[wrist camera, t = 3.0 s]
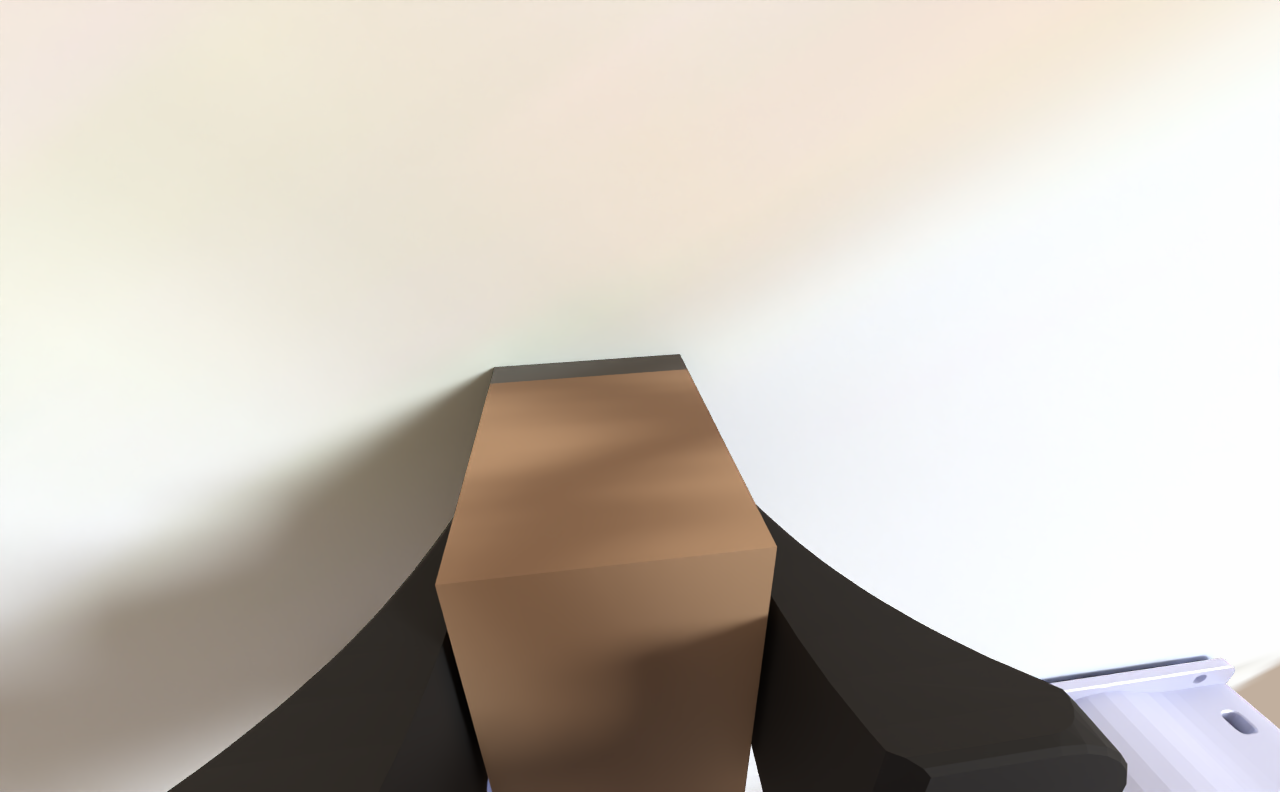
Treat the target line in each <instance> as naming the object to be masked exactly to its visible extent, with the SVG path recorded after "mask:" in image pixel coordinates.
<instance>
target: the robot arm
mask: <svg viewBox="0 0 1280 792" xmlns="http://www.w3.org/2000/svg"><path fill="white" fill-rule="evenodd" d="M756 506H757V505H756ZM757 508H758V510H759V512H760V514H761V516H762V518H763V520H764V522H765V524H766V526H767V528H768V530H769V532H770V534H771V536H772V538H773V540H774V542H775V544H776V546H777V551H776V559H775V566H774V574H773V581H772V589H771V597H770V604H769V612H768V619H767V627H766V634H765V642H764V650H763V657H762V665H761V672H760V680H759V687H758V695H757V703H756V710H755V718H754V725H753V733H752V741H751V745H752V749H753V753H754V757H755V761H756V765H757V769H758V773H759V777H760V782H761V786H762V790H763V792H1280V729H1279V728H1277V727H1276V726H1275V725H1274V724H1273V723H1272V722H1271V721H1269V720H1268V719H1267V718H1266V717H1265V716H1264V715H1262V714H1261V713H1260V712H1259V711H1258V710H1256V709H1255V708H1254V707H1253V706H1252V705H1250V704H1249V703H1248V702H1247V701H1246V700H1245V699H1243V698H1242V697H1241V696H1240V695H1239V694H1238V693H1236V692H1235V691H1234V690H1233V689H1232V688H1230V687H1229V686H1228V685H1227V684H1226V683H1227V682H1228V680H1229V679H1230V678H1231V677H1232V675H1233V674H1234V672H1235V668H1234V666H1232V665H1231V664H1230V663H1229V662H1227V661H1226V660H1225V659H1222V658H1217V659H1210V660H1203V661H1196V662H1190V663H1183V664H1176V665H1169V666H1163V667H1156V668H1149V669H1142V670H1136V671H1129V672H1122V673H1115V674H1109V675H1102V676H1095V677H1088V678H1082V679H1075V680H1068V681H1061V682H1055V683H1047V682H1045V681H1043V680H1040V679H1038V678H1036V677H1033V676H1031V675H1029V674H1026V673H1024V672H1021V671H1019V670H1017V669H1014V668H1012V667H1010V666H1007V665H1005V664H1003V663H1000V662H998V661H996V660H993V659H991V658H989V657H987V656H985V655H982V654H980V653H978V652H976V651H974V650H972V649H970V648H968V647H966V646H964V645H962V644H960V643H958V642H956V641H954V640H952V639H950V638H948V637H946V636H944V635H942V634H940V633H938V632H936V631H934V630H932V629H930V628H929V627H927V626H925V625H923V624H921V623H919V622H917V621H915V620H914V619H912V618H910V617H909V616H907V615H905V614H903V613H902V612H900V611H898V610H896V609H895V608H893V607H891V606H890V605H888V604H886V603H884V602H883V601H881V600H879V599H878V598H876V597H875V596H873V595H871V594H870V593H868V592H867V591H865V590H863V589H862V588H860V587H859V586H857V585H856V584H855V583H853V582H852V581H850V580H849V579H847V578H846V577H844V576H843V575H841V574H840V573H838V572H837V571H835V570H834V569H833V568H831V567H830V566H828V565H827V564H826V563H824V562H823V561H822V560H820V559H819V558H818V557H816V556H815V555H814V554H813V553H811V552H810V551H809V550H807V549H806V548H805V547H804V546H802V545H801V544H800V543H799V542H797V541H796V540H795V539H794V538H793V537H792V536H790V535H789V534H788V533H787V532H786V531H785V530H783V529H782V528H781V527H780V526H779V525H778V524H777V523H776V522H774V521H773V520H772V519H771V518H770V517H769V516H768V515H767V514H766V513H765V512H763V511H762V510H761V509H760V508H759V507H758V506H757ZM452 521H453V519H452V520H451V522H450V523H449V524H448V526H447V527H446V529H445V530H444V531H443V533H442V534H441V536H440V537H439V538H438V540H437V541H436V542H435V544H434V545H433V546H432V548H431V549H430V550H429V552H428V553H427V554H426V556H425V557H424V558H423V559H422V561H421V562H420V563H419V565H418V566H417V567H416V569H415V570H414V571H413V572H412V574H411V575H410V576H409V577H408V578H407V579H406V581H405V582H404V583H403V584H402V585H401V587H400V588H399V589H398V590H397V591H396V592H395V594H394V595H393V596H392V597H391V598H390V600H389V601H388V602H387V603H386V604H385V605H384V607H383V608H382V609H381V610H380V611H379V612H378V613H377V614H376V615H375V616H374V617H373V619H372V620H371V621H370V622H369V623H368V624H367V625H366V626H365V627H364V628H363V629H362V630H361V631H360V632H359V633H358V634H357V635H356V636H355V637H354V638H353V639H352V640H351V641H350V642H349V643H348V644H347V645H346V646H345V647H344V648H343V649H342V650H341V651H340V652H339V653H338V654H337V655H336V656H335V657H334V658H333V659H332V660H331V661H330V662H329V663H328V664H327V665H325V666H324V667H323V668H322V669H321V670H320V671H319V672H318V673H316V674H315V675H314V676H313V677H312V678H311V679H310V680H309V681H307V682H306V683H305V684H304V685H303V686H302V687H301V688H300V689H299V690H297V691H296V692H295V693H294V694H293V695H292V696H291V697H290V698H288V699H287V700H286V701H285V702H284V703H283V704H281V705H280V706H279V707H278V708H277V709H275V710H274V711H273V712H272V713H270V714H269V715H268V716H267V717H266V718H264V719H263V720H262V721H261V722H259V723H258V724H257V725H256V726H254V727H253V728H252V729H251V730H249V731H248V732H247V733H246V734H244V735H243V736H242V737H240V738H239V739H238V740H237V741H235V742H234V743H233V744H231V745H230V746H229V747H228V748H226V749H225V750H224V751H222V752H221V753H220V754H219V755H217V756H216V757H215V758H213V759H212V760H211V761H209V762H208V763H206V764H205V765H204V766H202V767H201V768H200V769H198V770H197V771H196V772H194V773H193V774H191V775H190V776H189V777H187V778H186V779H184V780H183V781H182V782H180V783H179V784H177V785H176V786H175V787H173V788H172V789H170V790H169V791H167V792H487V784H488V776H487V772H486V768H485V765H484V761H483V757H482V754H481V750H480V747H479V743H478V739H477V736H476V732H475V728H474V725H473V721H472V718H471V714H470V710H469V707H468V703H467V699H466V696H465V692H464V688H463V685H462V681H461V678H460V674H459V670H458V667H457V663H456V659H455V656H454V652H453V649H452V645H451V641H450V638H449V634H448V630H447V627H446V623H445V620H444V616H443V612H442V609H441V605H440V601H439V598H438V594H437V591H436V587H435V583H436V580H437V576H438V572H439V569H440V565H441V561H442V558H443V554H444V550H445V547H446V543H447V539H448V536H449V532H450V528H451V525H452Z"/></svg>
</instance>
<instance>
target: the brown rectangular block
mask: <svg viewBox="0 0 1280 792" xmlns="http://www.w3.org/2000/svg"><path fill="white" fill-rule="evenodd" d="M776 551H777V546H776V544H775V542H774V540H773V538H772V536H771V534H770V532H769V530H768V528H767V526H766V524H765V522H764V520H763V518H762V516H761V514H760V512H759V510H758V508H757V506H756V504H755V502H754V500H753V498H752V496H751V494H750V492H749V490H748V488H747V486H746V484H745V482H744V480H743V478H742V476H741V474H740V472H739V471H738V469H737V467H736V465H735V463H734V461H733V459H732V457H731V455H730V453H729V451H728V449H727V447H726V445H725V443H724V441H723V439H722V437H721V435H720V433H719V431H718V429H717V427H716V425H715V423H714V421H713V419H712V417H711V415H710V413H709V411H708V409H707V407H706V405H705V403H704V401H703V399H702V397H701V395H700V393H699V391H698V389H697V387H696V385H695V383H694V381H693V379H692V377H691V375H690V373H689V372H688V370H687V368H686V366H685V364H684V362H683V360H682V358H681V356H680V354H677V355H662V356H648V357H634V358H620V359H606V360H591V361H577V362H563V363H549V364H535V365H520V366H506V367H494V371H493V375H492V378H491V382H490V386H489V389H488V393H487V397H486V400H485V404H484V408H483V411H482V415H481V419H480V422H479V426H478V430H477V433H476V437H475V441H474V444H473V448H472V451H471V455H470V459H469V462H468V466H467V470H466V473H465V477H464V481H463V484H462V488H461V492H460V495H459V499H458V503H457V506H456V510H455V514H454V517H453V521H452V525H451V528H450V532H449V536H448V539H447V543H446V547H445V550H444V554H443V558H442V561H441V565H440V569H439V572H438V576H437V580H436V583H435V587H436V591H437V594H438V598H439V601H440V605H441V609H442V612H443V616H444V620H445V623H446V627H447V630H448V634H449V638H450V641H451V645H452V649H453V652H454V656H455V659H456V663H457V667H458V670H459V674H460V678H461V681H462V685H463V688H464V692H465V696H466V699H467V703H468V707H469V710H470V714H471V718H472V721H473V725H474V728H475V732H476V736H477V739H478V743H479V747H480V750H481V754H482V757H483V761H484V765H485V768H486V772H487V776H488V779H489V783H490V786H491V790H492V792H745V786H746V778H747V771H748V763H749V756H750V748H751V741H752V733H753V725H754V718H755V710H756V703H757V695H758V687H759V680H760V672H761V665H762V657H763V650H764V642H765V634H766V627H767V619H768V612H769V604H770V597H771V589H772V581H773V574H774V566H775V559H776Z"/></svg>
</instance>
